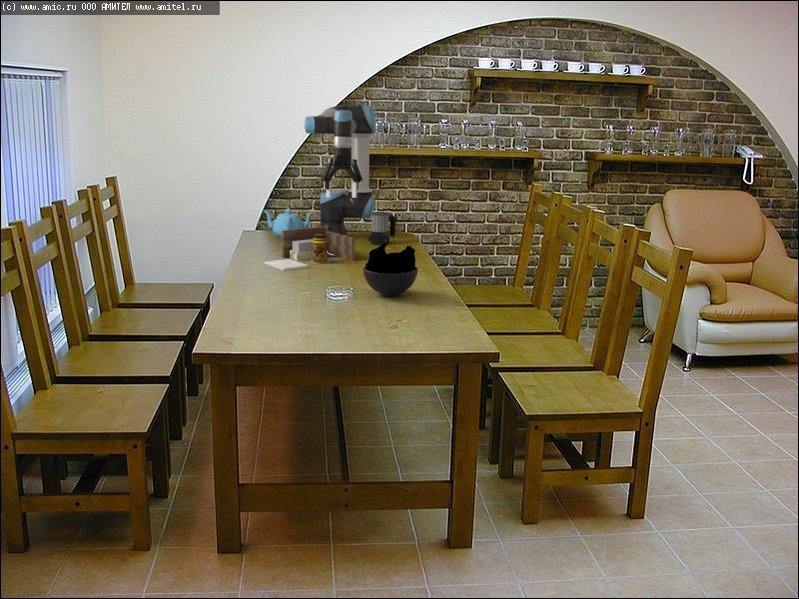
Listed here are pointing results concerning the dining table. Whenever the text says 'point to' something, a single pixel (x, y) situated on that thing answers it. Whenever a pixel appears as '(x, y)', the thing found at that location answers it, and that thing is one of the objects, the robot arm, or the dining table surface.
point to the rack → (335, 242)
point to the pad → (286, 264)
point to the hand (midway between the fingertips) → (341, 197)
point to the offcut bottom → (301, 255)
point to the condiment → (319, 249)
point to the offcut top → (303, 245)
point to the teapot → (287, 222)
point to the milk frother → (381, 228)
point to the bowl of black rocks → (390, 270)
